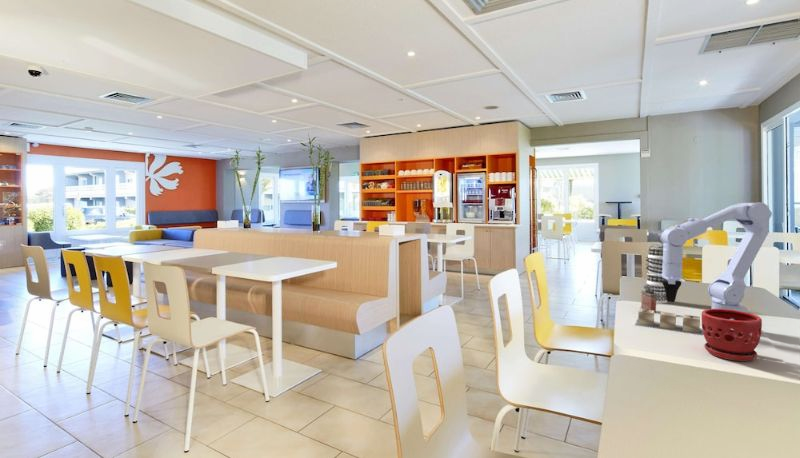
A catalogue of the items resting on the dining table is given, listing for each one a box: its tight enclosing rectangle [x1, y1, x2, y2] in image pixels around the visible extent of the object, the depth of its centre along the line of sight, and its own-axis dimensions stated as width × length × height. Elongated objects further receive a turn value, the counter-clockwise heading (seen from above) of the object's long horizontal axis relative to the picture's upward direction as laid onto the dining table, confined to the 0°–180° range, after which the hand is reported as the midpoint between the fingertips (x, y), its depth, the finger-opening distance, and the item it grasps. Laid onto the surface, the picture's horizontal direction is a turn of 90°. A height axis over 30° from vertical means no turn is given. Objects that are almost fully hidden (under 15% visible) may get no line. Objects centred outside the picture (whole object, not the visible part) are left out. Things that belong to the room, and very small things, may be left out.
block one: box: [682, 314, 701, 333], centre depth 138 cm, size 4×4×5 cm
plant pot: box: [701, 308, 763, 362], centre depth 115 cm, size 13×13×12 cm
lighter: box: [640, 284, 657, 314], centre depth 164 cm, size 8×3×10 cm, turn 178°
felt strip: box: [634, 318, 703, 336], centre depth 142 cm, size 19×9×1 cm, turn 56°
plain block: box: [659, 311, 677, 330], centre depth 141 cm, size 4×4×4 cm
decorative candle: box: [645, 243, 668, 304], centre depth 183 cm, size 9×9×25 cm
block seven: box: [637, 308, 655, 326], centre depth 145 cm, size 4×4×5 cm
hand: (670, 301), depth 144 cm, fingers closed
